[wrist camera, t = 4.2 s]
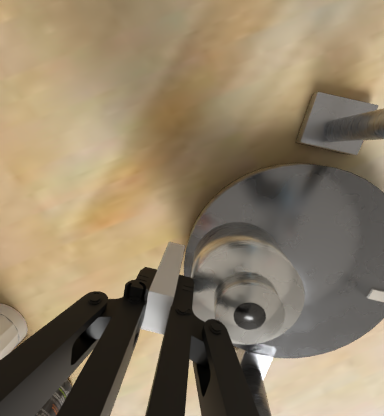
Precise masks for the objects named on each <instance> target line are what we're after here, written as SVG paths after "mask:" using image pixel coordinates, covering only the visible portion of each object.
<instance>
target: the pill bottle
mask: <svg viewBox="0 0 384 416" xmlns="http://www.w3.org/2000/svg"><path fill="white" fill-rule="evenodd" d="M71 389H72V386H71V384H70V382H69V380H68V379H67V380H66V381H65V382H64V383H63V384H62V385H61V386H60V388H59V389H58V390H57V391H56V392H55V393H54V394H53V395H52V397H51V398H50V399H49V400H48V401H47V402H46V403H45V405H44V406H43V407H42V408H41V409H40V410H39V411H38V412H37V414H36V415H35V416H56V415H57V413H58V412H59V410H60V408H61V406H62V405H63V403H64V401H65V399H66V397H67V396H68V394H69V392H70V390H71Z"/></svg>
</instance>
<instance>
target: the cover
mask: <svg viewBox="0 0 384 416" xmlns="http://www.w3.org/2000/svg"><path fill="white" fill-rule="evenodd" d="M191 278H192V279H193V281H194V292H193V304H192V310H193V313H194V314H195V316H197V317H198V318H199V319H201V320H202V321H204V322H206V321H207V320H208V319H216V320H218V321H220V322H222V323H223V324H224V325H225V327H226V328H227V331H228V333H229V336H230V339H231V341H232V343H234V344H243V345H249V344H258V343H263V342H266V341H269V340H272V339H274V338H276V337H278V336H280V335H282V334H283V333H285V332H286V331H287V330H288V329H290V328H291V327H292V326H293V325H294V323H295V322H296V321H297V319H298V318H299V316H300V314H301V312H302V309H303V306H304V301H305V291H304V286H303V282H302V280H301V278H300V275H299V274H298V272H297V271H296V269H295V268H294V267H293V265H292V264H291V262H290V261H289V260H288V258H287V257H286V255H285V254H284V253H283V251H282V250H281V249H280V247H279V246H278V244H277V243H276V242H275V240H274V239H273V238H272V237H271V235H270V234H268V233H267V232H266V231H265V230H263V229H262V228H260V227H258V226H256V225H253V224H249V223H244V222H231V223H226V224H223V225H220V226H217V227H215V228H213V229H212V230H210V231H209V232H208V233H207V234H205V235H204V236H203V238H202V239H201V240H200V242H199V243H198V245H197V247H196V249H195V252H194V258H193V265H192V273H191Z"/></svg>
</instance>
